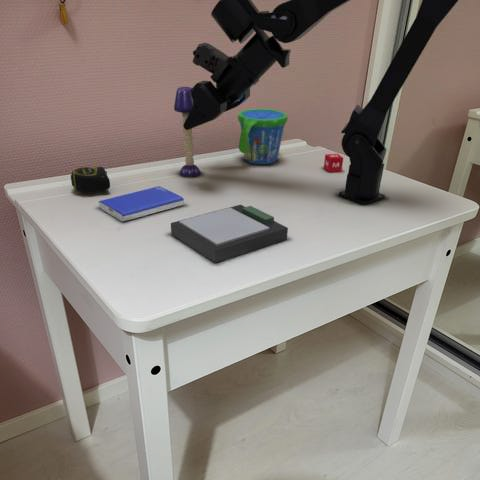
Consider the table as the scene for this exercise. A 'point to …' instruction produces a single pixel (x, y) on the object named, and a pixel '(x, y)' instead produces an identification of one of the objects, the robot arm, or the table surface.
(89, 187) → the tape measure
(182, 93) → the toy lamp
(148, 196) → the hard drive
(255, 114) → the snack cup
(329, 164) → the dice
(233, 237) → the scale
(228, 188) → the table surface
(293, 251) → the table surface
